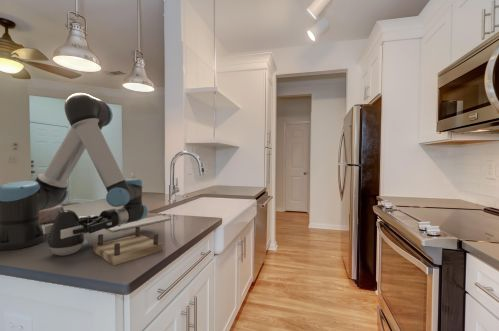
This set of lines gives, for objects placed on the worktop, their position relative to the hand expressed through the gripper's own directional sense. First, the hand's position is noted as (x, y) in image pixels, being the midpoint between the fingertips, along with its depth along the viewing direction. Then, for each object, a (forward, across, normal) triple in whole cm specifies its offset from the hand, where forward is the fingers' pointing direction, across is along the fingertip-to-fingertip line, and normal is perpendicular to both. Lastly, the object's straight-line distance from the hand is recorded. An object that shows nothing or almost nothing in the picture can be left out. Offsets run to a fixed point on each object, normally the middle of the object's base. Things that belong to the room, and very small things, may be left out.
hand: (52, 232), depth 83 cm
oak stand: (-15, -17, -8) cm, 25 cm away
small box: (-26, +25, -9) cm, 37 cm away
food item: (-23, +51, -9) cm, 56 cm away
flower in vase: (-51, +25, -9) cm, 58 cm away
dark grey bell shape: (-4, 0, -9) cm, 10 cm away
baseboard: (-44, +10, -9) cm, 46 cm away
